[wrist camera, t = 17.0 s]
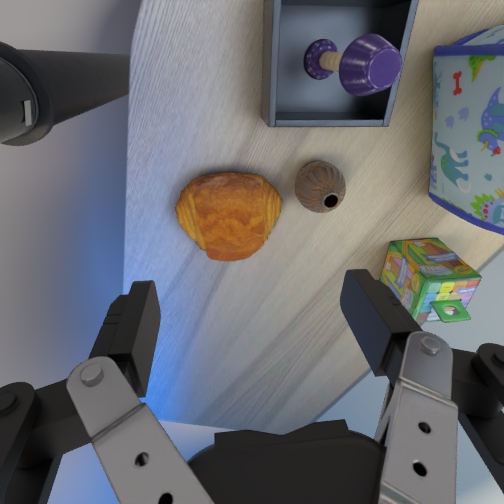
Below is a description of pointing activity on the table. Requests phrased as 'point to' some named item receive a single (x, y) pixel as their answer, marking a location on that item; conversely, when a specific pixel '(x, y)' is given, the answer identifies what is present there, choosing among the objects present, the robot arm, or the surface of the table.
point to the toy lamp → (356, 63)
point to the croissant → (229, 213)
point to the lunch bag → (470, 129)
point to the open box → (330, 89)
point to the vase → (320, 187)
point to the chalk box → (430, 280)
